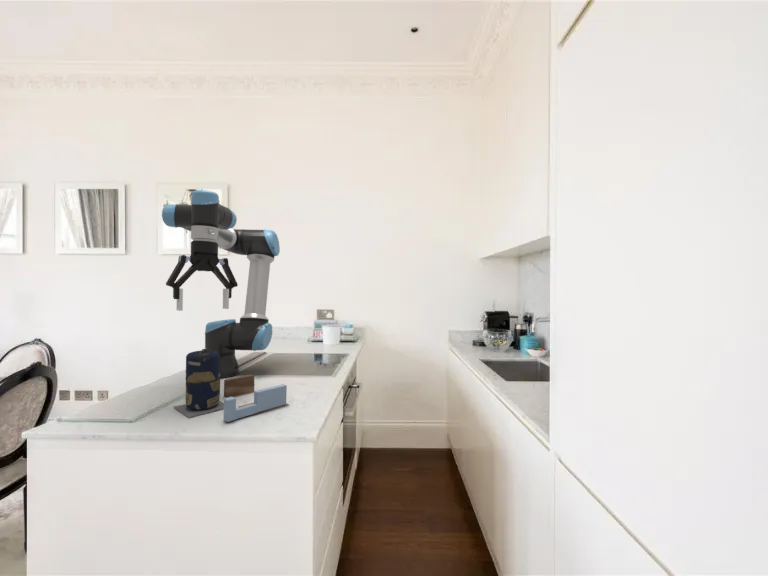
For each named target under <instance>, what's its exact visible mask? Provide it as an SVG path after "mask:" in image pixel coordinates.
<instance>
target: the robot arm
mask: <svg viewBox="0 0 768 576" xmlns="http://www.w3.org/2000/svg"><path fill="white" fill-rule="evenodd" d="M191 193H192V194H191V200H190V201H191V202H190V204H178V203H175V204H166V205H165V206H163V208H162V211H161V218H162V222H163V223H164V224H165V225H166V226H167V227H169V228H175V229H176V228H182V229H184V230H186V231H189V232H190V240H191V241H190V255H189V256H187V255H185V254H182V255H181V254H180V255H179V256H178V260H177V264H176V265H175V267H174V269H173V270H172V273H171V274H170V275H169V277H168V279H167V281H166V282H165V285H166V286H168V287H170V288H172V297H173V300H176V310H175V311H178V312H180V311H183V308H184V307H183V306H184V305H183V304H184V299H183V298H184V289H183V288H181V287H182V286H183V284H185V283H186V281H187V280H188V279H189V278H190V277H191V276H192V275H193V274H194V273H196V272H212V274H213V275H215V277H216V278H217V279H218V280H219V282H220V283H221V284H222V285H223V287H224V288H222V309H225V310H229V309H230V308H229V307H230V303H229V302H230V299H232V297H233V296H232V294H233V293H232V291H233V290H232V289H234V288H236V287H238V282H237V280H236V278H235V276H234V274H233V272H232V269H231V267H230V263H229V258H227V257H223V258H219V256H218V255H219V248H220V249H222V250H225V251H227V252H229V253H232V254H235V255H236V254H237V255H240V256H241V255H242V256H246V258H247V259H248V261H249V267H248V278H247V284H246V285H247V287H246V294H245V305H244V314H242V316H241V317H240V318H239V322H237V320H236V319H235V318H231V319H228V318H227V319H221V320H214V321H210V322H208V323H206V325H205V332H204V349H206V350H214V351H218V352H219V353H220V379H227V378H229V377H235V376H236V375H238V374H240V366H239V363H238V360H237V358H236V351H253V352H256V351H264V350H266V349H267V348H268V347H269V345H270V343H271V340H272V336H273V325H272V324H271V323H270V322H269V318H268V317H267V316H266V311H267V301H268V293H269V291H268V289H269V279H270V269H271V268H270V267H271V264H272V263H273V262H274V261H275V257H278V256H280V255H279V254H280V252H281V251H280V250H281V249H280V241H279V238H278V234H277V233H276V232H275V231H274V230H272V229H245V228H243V229H240V228H239V229H237V228H235V229H234V227H235V226H236V224H237V220H238V219H237V215H236V213H235V212H234V211H233V210H232V209H231V208H229V207H227V206H224V205H222V204H220V198H219V197H220V196H219V194H218V193H217V192H215V191H212V190H206V189H196V190H195V189H194V191H192V192H191ZM188 262H189V263H190V264H191V266H189V267H188V269H187V270H186V271H185V272H184V273H183V274H182V275H181V276H180V274H181V272H182V270H183V269H184V267H185V266H186V264H187V263H188ZM218 264H219V265H221V268H222V270H223V272H224V274H225V275H224V274H223V272H222V271H220V269H219V267H218ZM179 276H180V277H179ZM178 277H179V278H178Z"/></svg>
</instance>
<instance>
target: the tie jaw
mask: <svg viewBox="0 0 768 576" xmlns="http://www.w3.org/2000/svg"><path fill="white" fill-rule="evenodd" d="M287 387H288V386H287V384H283V383H282V384H278V385H274V386H269V387H266V388H261V389H257V390H254V392H253V402H254V404H251V405H247V406H243V407H240V408H239V407H237V398H236V397H228V398H224V397H223V403H224V409H223V421H224V422H227V423H229V422H233V421H235V420H237V419H241V418H244V417H246V416H251V415H253V414H255V413H258V412H261V411H264V410H268V409H271V408H275V407H278V406H282V405H285V404H286V403H287Z"/></svg>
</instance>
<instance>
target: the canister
mask: <svg viewBox="0 0 768 576" xmlns="http://www.w3.org/2000/svg"><path fill="white" fill-rule="evenodd" d="M220 398H221V378H220V353H219V352H218V351H214V350H206V349H205V348H202V349H201V350H196V351H191V352H188V354H186V356H185V404H186V407H187V408H189V409H193V410H200V409H207V408H211V407H213V406H215V405H217V404H218V403H219V401H221V399H220Z"/></svg>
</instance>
